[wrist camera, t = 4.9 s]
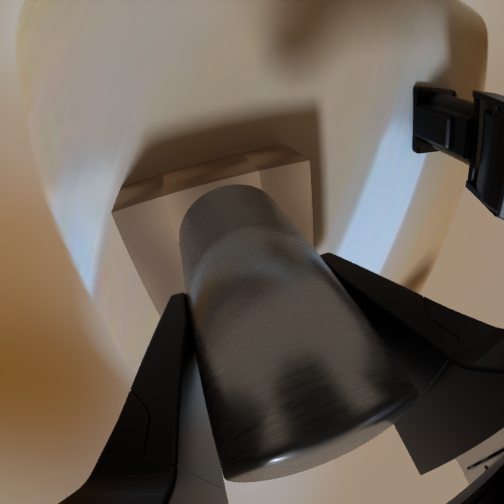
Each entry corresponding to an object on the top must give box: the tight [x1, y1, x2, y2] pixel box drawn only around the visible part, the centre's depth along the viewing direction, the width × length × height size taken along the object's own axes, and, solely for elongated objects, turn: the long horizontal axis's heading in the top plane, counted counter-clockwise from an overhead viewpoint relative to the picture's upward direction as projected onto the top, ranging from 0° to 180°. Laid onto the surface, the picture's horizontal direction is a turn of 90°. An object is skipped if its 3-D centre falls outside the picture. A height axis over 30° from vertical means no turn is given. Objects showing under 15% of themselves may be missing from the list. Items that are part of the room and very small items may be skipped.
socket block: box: [111, 145, 314, 317], centre depth 21 cm, size 12×12×4 cm
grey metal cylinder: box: [179, 184, 419, 482], centre depth 8 cm, size 4×4×8 cm
